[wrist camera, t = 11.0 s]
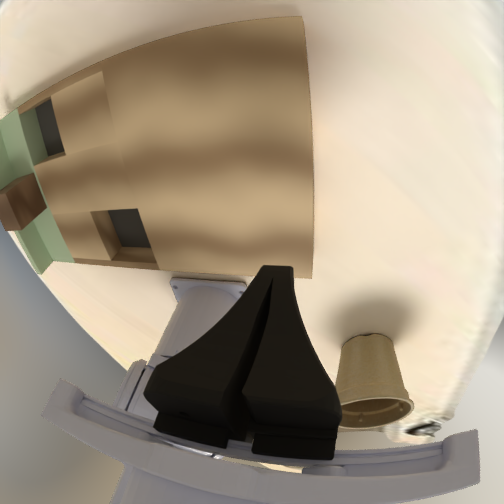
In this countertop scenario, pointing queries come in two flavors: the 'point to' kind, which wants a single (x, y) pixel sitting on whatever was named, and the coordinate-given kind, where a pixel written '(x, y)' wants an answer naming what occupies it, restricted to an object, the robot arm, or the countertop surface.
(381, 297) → the countertop surface
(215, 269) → the box
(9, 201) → the walnut block
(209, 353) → the robot arm
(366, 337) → the flower pot
